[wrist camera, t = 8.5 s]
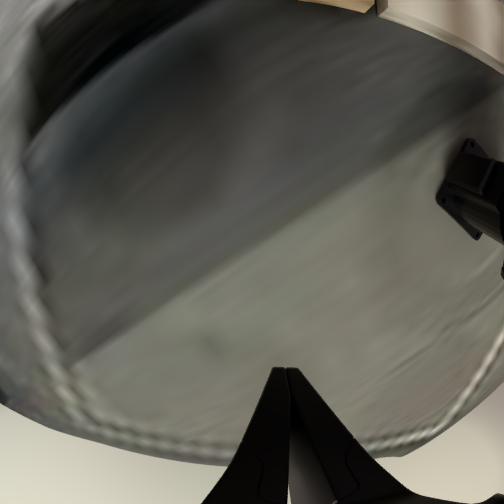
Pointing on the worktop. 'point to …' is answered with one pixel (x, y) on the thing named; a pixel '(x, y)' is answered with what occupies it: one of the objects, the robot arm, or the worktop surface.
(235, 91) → the worktop surface
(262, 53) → the worktop surface
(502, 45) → the door jamb
